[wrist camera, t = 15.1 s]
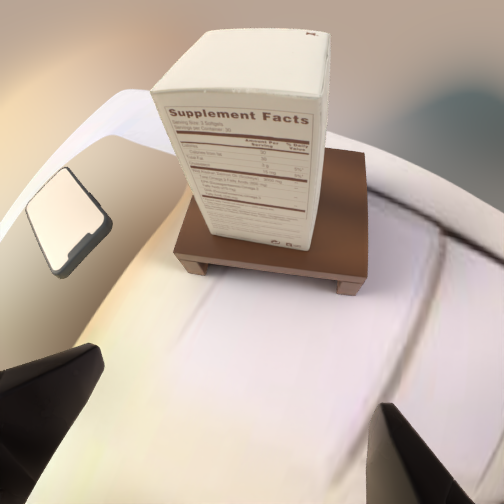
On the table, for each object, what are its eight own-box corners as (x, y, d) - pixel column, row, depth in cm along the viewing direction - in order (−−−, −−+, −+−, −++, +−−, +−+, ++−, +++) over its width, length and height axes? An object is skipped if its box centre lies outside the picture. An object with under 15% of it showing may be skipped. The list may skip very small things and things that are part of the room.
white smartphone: (29, 213, 32) (63, 286, 26) (22, 207, 30) (53, 280, 24) (71, 170, 34) (119, 226, 28) (66, 162, 33) (112, 218, 27)
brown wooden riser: (355, 296, 22) (367, 277, 19) (188, 273, 25) (172, 252, 21) (357, 180, 27) (364, 152, 24) (221, 167, 30) (214, 140, 26)
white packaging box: (236, 164, 25) (206, 28, 13) (323, 176, 23) (335, 30, 12) (208, 237, 22) (142, 90, 10) (309, 256, 20) (327, 93, 9)
